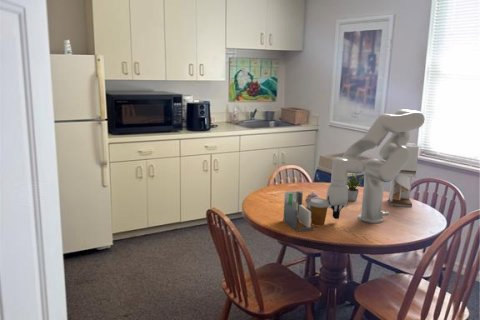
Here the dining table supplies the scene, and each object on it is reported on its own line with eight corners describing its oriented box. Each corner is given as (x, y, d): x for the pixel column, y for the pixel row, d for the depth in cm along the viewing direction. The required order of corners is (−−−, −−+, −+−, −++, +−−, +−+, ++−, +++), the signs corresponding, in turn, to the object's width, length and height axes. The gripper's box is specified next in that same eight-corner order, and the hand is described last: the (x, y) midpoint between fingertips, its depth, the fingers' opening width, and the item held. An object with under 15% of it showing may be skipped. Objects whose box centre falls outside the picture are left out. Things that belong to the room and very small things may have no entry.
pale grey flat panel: (299, 218, 206) (300, 192, 203) (310, 228, 194) (312, 199, 191) (297, 219, 206) (298, 192, 203) (308, 228, 193) (310, 200, 191)
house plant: (368, 204, 234) (371, 176, 231) (344, 203, 234) (346, 176, 231) (361, 197, 248) (364, 171, 245) (339, 196, 248) (341, 170, 245)
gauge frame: (300, 219, 207) (302, 190, 204) (314, 230, 193) (316, 199, 190) (282, 220, 205) (284, 191, 202) (295, 231, 190) (297, 201, 187)
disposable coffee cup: (331, 223, 202) (332, 200, 199) (320, 228, 195) (322, 204, 192) (314, 219, 208) (316, 196, 206) (304, 223, 201) (305, 200, 199)
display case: (390, 205, 234) (397, 145, 227) (388, 199, 244) (394, 142, 237) (411, 207, 231) (418, 146, 224) (408, 201, 241) (415, 143, 234)
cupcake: (309, 204, 231) (310, 187, 229) (324, 208, 225) (325, 191, 223) (300, 208, 224) (301, 191, 222) (315, 212, 218) (317, 194, 216)
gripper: (348, 180, 206) (345, 214, 209) (321, 181, 201) (318, 216, 205) (356, 184, 198) (353, 219, 202) (328, 185, 194) (325, 221, 198)
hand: (335, 218), depth 204 cm, fingers closed
